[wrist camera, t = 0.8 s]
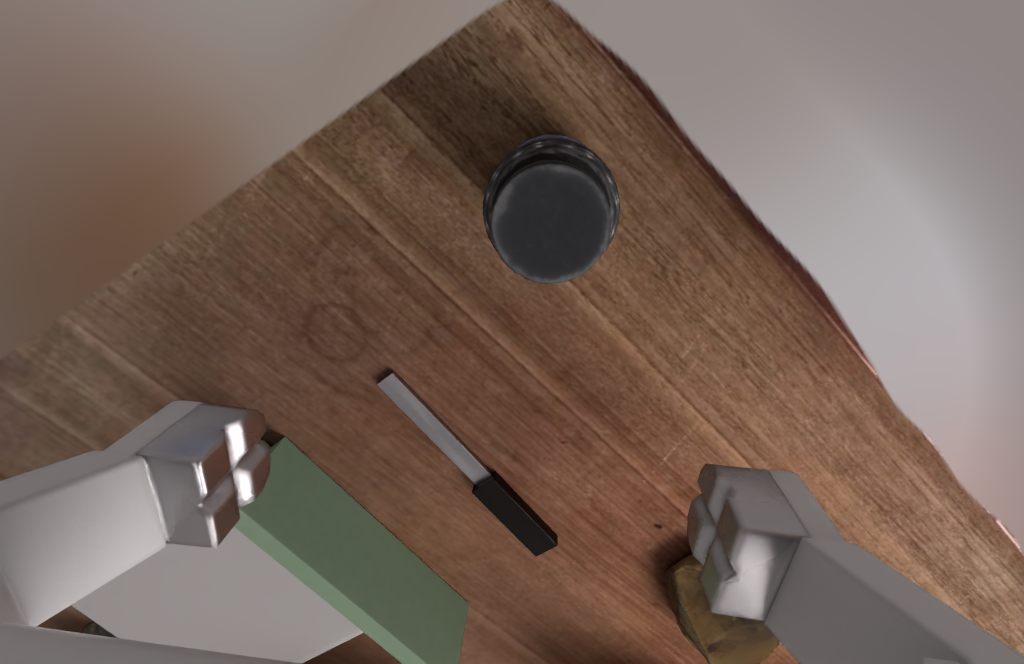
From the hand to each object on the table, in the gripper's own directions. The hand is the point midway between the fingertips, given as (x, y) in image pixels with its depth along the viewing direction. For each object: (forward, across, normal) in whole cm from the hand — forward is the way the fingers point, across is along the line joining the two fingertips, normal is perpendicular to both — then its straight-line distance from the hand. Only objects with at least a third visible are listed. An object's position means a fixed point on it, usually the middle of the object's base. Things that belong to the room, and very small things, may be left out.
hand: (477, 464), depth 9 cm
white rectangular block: (+23, +22, +33) cm, 46 cm away
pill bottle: (+23, -1, -2) cm, 23 cm away
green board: (+22, +10, +26) cm, 36 cm away
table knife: (+22, +2, +19) cm, 29 cm away
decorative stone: (+23, -19, +28) cm, 40 cm away
